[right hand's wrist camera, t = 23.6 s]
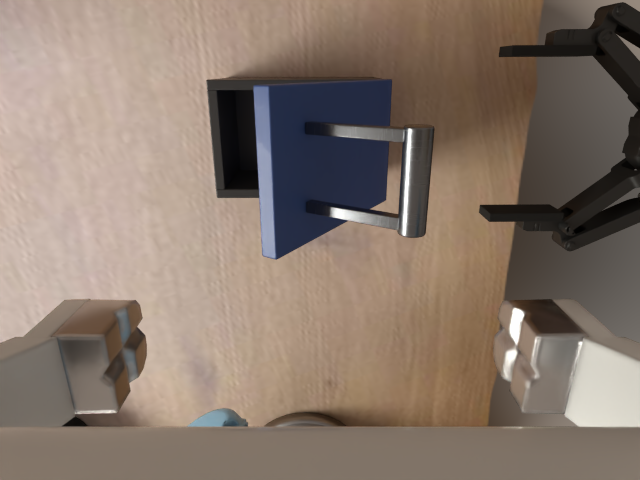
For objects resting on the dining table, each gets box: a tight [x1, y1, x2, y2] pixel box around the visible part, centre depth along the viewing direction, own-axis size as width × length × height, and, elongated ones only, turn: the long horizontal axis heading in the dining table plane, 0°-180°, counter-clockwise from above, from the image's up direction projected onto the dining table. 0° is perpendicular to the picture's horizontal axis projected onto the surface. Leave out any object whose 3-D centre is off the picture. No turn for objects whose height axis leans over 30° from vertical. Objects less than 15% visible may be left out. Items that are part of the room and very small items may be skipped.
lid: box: [253, 79, 434, 259], centre depth 28 cm, size 15×10×9 cm
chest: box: [207, 77, 380, 198], centre depth 41 cm, size 14×10×9 cm
